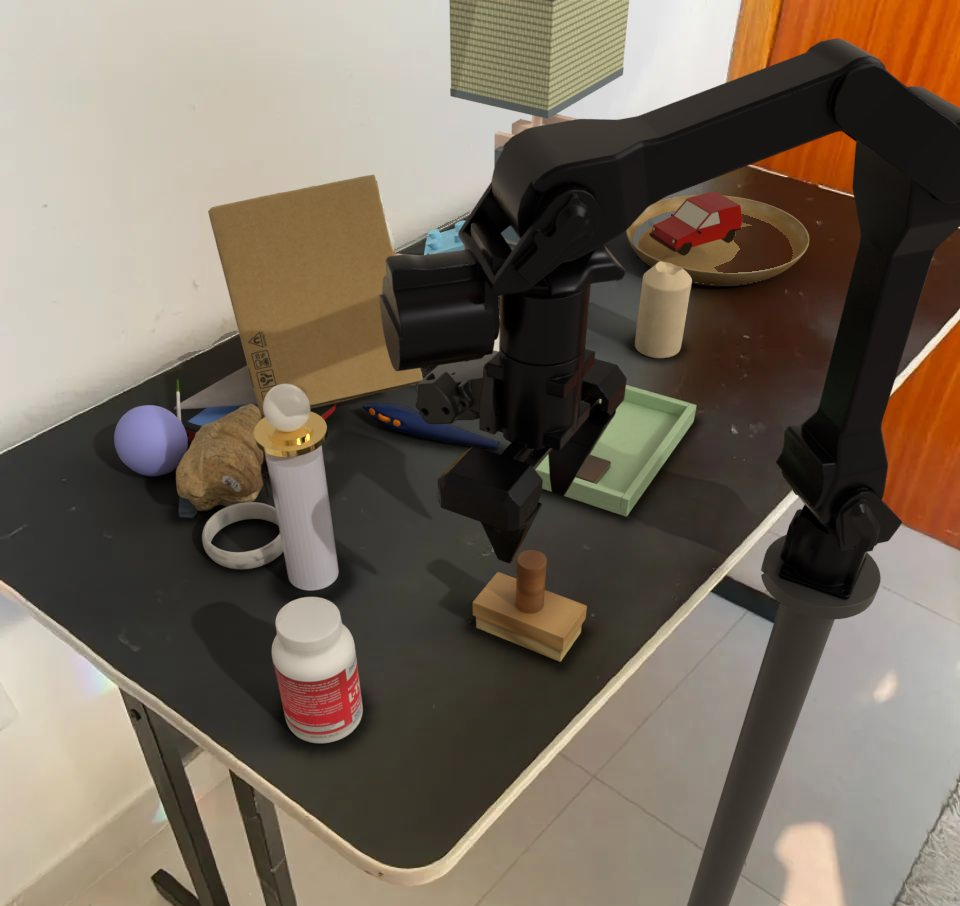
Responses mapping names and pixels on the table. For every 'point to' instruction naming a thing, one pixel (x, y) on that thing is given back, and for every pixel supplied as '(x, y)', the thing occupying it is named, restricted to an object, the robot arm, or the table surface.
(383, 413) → the tapered navy handle
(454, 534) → the table surface
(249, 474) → the seashell
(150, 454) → the sphere
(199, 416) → the game console
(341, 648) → the pill bottle
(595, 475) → the dark brown block
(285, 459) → the candle
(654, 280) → the candle
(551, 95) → the desk lamp
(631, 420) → the tray
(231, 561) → the ring
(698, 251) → the plant saucer
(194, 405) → the grey triangular spike
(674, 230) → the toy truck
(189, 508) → the oar
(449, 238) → the light blue studded brick
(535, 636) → the brush
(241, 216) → the box
